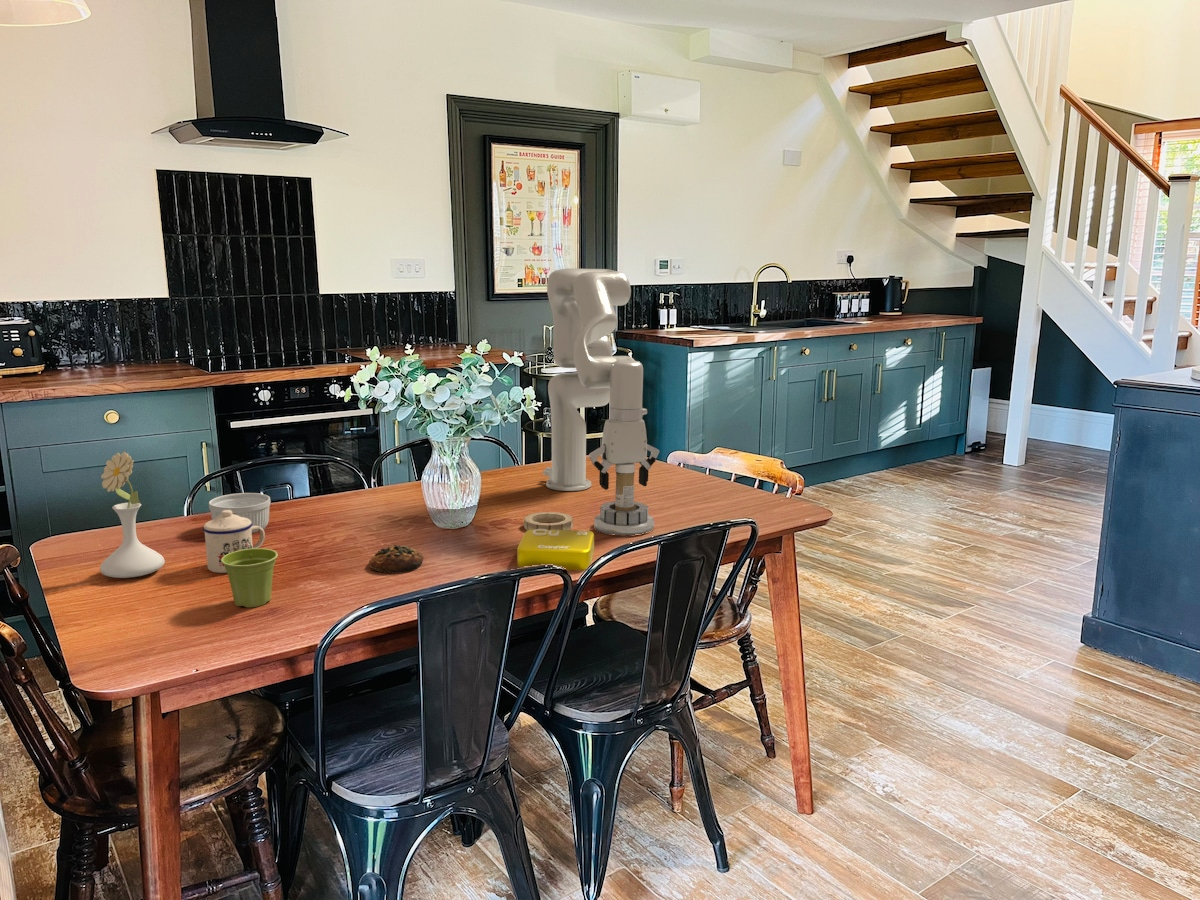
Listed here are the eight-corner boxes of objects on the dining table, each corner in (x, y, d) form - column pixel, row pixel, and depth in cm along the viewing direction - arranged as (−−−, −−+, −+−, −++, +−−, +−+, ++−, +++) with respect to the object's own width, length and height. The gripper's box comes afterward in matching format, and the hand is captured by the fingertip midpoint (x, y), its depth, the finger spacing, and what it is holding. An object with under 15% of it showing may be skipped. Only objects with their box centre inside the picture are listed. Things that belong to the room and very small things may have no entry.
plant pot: (287, 604, 159) (284, 558, 157) (231, 616, 153) (228, 568, 152) (272, 589, 166) (269, 545, 164) (219, 599, 161) (215, 553, 159)
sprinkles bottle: (611, 517, 209) (612, 461, 206) (629, 515, 210) (630, 460, 208) (618, 522, 205) (619, 465, 202) (637, 520, 206) (638, 464, 204)
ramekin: (282, 528, 204) (280, 499, 203) (226, 541, 195) (224, 510, 194) (255, 517, 213) (253, 489, 212) (201, 528, 204) (198, 499, 202)
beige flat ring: (514, 527, 207) (514, 519, 207) (546, 517, 216) (546, 509, 215) (550, 536, 200) (550, 528, 200) (582, 525, 209) (582, 517, 208)
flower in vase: (96, 571, 175) (82, 447, 170) (158, 560, 182) (147, 441, 177) (107, 590, 165) (93, 459, 160) (173, 577, 172) (161, 452, 166)
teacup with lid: (219, 577, 172) (214, 519, 170) (198, 566, 178) (193, 511, 176) (276, 562, 181) (273, 507, 178) (255, 553, 187) (251, 499, 184)
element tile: (515, 570, 179) (515, 547, 178) (526, 547, 194) (526, 526, 193) (589, 572, 178) (589, 549, 177) (594, 549, 193) (594, 528, 192)
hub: (582, 528, 207) (582, 507, 206) (618, 515, 217) (618, 496, 216) (630, 540, 198) (630, 518, 197) (665, 526, 209) (666, 506, 208)
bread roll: (399, 577, 173) (396, 552, 172) (357, 575, 178) (354, 550, 178) (436, 563, 182) (433, 539, 182) (396, 562, 188) (393, 538, 188)
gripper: (652, 410, 209) (650, 479, 213) (584, 413, 203) (583, 485, 207) (666, 415, 202) (664, 487, 206) (596, 419, 196) (595, 493, 200)
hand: (623, 486), depth 206 cm, fingers open, 9 cm apart
